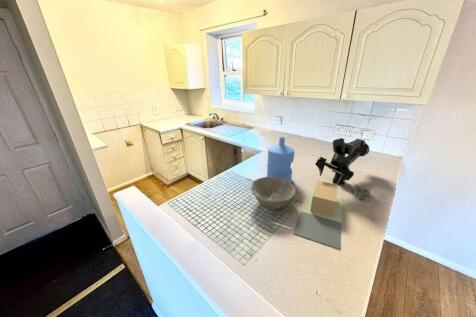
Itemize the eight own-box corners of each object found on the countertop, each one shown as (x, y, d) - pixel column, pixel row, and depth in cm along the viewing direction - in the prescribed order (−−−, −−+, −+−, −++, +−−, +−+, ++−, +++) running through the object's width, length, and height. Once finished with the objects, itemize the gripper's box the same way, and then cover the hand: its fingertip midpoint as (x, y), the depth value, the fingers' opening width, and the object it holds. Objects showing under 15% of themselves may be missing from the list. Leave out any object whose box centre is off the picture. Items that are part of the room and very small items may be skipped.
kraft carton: (314, 194, 108) (317, 180, 104) (334, 199, 104) (337, 184, 100) (310, 211, 95) (312, 195, 92) (332, 217, 91) (336, 201, 87)
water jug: (272, 187, 116) (275, 143, 105) (262, 175, 130) (264, 135, 118) (296, 183, 120) (301, 140, 108) (284, 172, 133) (287, 133, 122)
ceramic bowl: (286, 190, 113) (288, 175, 109) (299, 217, 92) (302, 200, 88) (248, 192, 112) (248, 176, 108) (253, 219, 91) (253, 201, 87)
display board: (307, 191, 112) (308, 191, 111) (342, 199, 104) (343, 199, 104) (293, 233, 83) (293, 233, 82) (340, 249, 75) (340, 249, 75)
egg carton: (354, 189, 113) (355, 183, 112) (369, 193, 110) (371, 187, 108) (352, 198, 105) (354, 192, 103) (369, 203, 101) (371, 196, 100)
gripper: (327, 142, 105) (317, 162, 97) (362, 158, 99) (355, 181, 91) (319, 154, 114) (310, 174, 106) (351, 170, 108) (344, 191, 101)
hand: (329, 179), depth 101 cm, fingers open, 9 cm apart
